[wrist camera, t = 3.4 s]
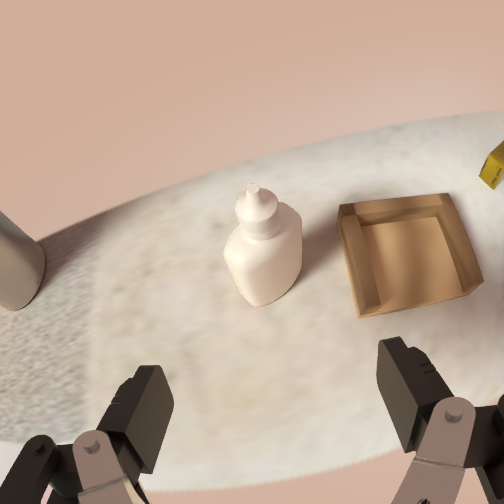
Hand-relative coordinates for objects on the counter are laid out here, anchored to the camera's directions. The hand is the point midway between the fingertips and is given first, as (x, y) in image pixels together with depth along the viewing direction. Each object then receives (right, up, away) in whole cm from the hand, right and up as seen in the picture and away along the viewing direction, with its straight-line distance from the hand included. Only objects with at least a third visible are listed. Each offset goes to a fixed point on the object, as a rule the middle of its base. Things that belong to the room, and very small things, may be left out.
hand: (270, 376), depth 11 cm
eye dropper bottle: (+1, +2, +16) cm, 16 cm away
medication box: (+31, +15, +19) cm, 40 cm away
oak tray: (+13, +4, +15) cm, 20 cm away
